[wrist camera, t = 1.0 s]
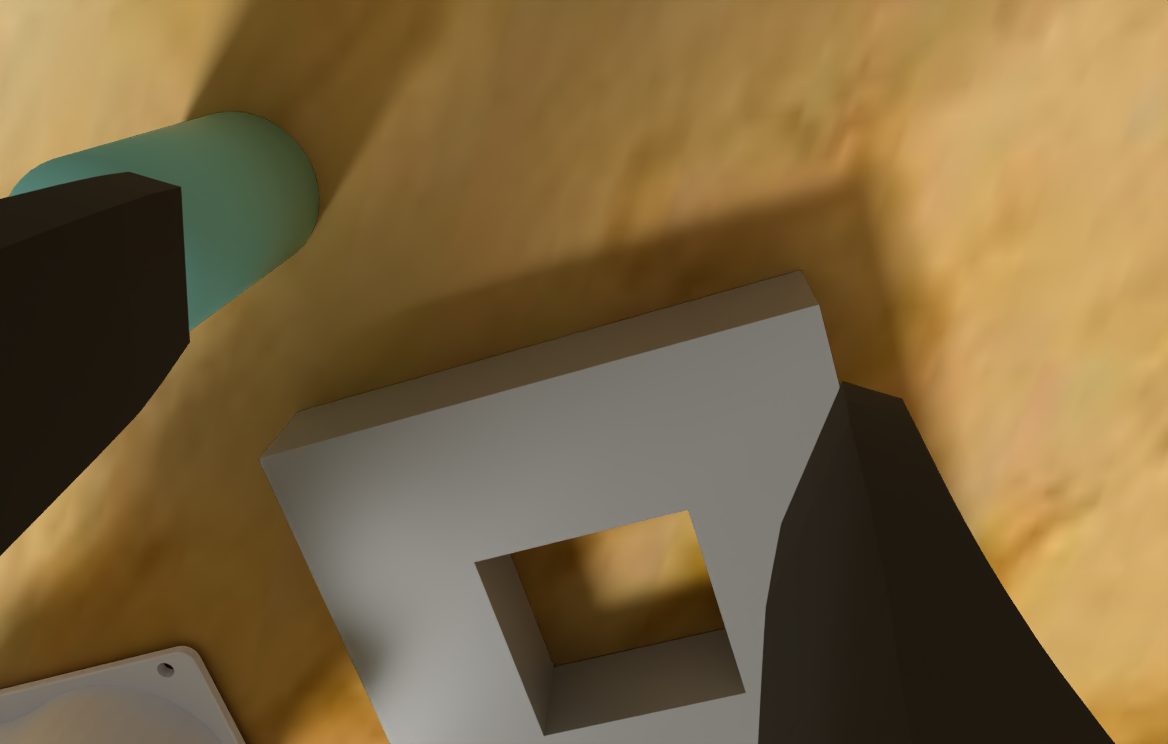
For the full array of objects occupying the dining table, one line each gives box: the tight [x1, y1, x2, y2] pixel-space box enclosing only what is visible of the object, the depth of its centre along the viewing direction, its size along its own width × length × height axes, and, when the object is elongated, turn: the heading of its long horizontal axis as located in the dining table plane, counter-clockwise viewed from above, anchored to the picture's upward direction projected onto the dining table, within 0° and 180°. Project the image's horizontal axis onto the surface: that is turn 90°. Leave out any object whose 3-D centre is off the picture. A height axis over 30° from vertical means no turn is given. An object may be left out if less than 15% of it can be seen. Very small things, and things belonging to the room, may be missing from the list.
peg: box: [9, 111, 319, 331], centre depth 23 cm, size 4×4×7 cm
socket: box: [258, 270, 840, 744], centre depth 28 cm, size 14×14×3 cm
